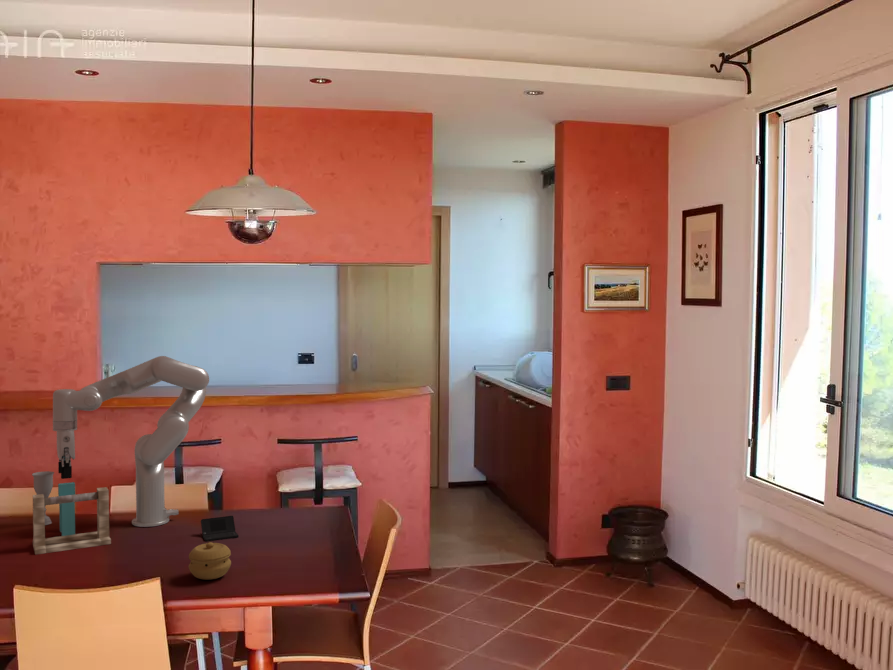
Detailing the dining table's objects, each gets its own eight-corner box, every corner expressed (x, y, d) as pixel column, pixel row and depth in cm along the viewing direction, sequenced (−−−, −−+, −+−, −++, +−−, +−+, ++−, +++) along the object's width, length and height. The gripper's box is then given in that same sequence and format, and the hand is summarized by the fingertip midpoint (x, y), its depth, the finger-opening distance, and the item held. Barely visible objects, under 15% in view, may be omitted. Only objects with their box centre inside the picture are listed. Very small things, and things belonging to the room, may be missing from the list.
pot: (237, 578, 227) (237, 544, 227) (196, 587, 220) (196, 551, 220) (223, 567, 237) (222, 534, 236) (183, 575, 230) (182, 541, 230)
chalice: (59, 521, 287) (58, 471, 286) (48, 526, 280) (47, 475, 279) (40, 520, 287) (39, 471, 287) (28, 525, 281) (27, 475, 280)
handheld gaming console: (208, 538, 261) (205, 510, 266) (200, 547, 265) (198, 520, 270) (241, 537, 267) (238, 510, 273) (234, 546, 272) (230, 519, 277)
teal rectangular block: (74, 528, 277) (73, 480, 277) (76, 535, 270) (76, 485, 269) (58, 530, 275) (57, 481, 274) (60, 537, 267) (59, 487, 266)
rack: (105, 534, 270) (105, 485, 269) (110, 543, 260) (110, 492, 259) (32, 544, 259) (31, 492, 258) (35, 554, 249) (34, 500, 248)
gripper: (80, 428, 265) (79, 479, 266) (74, 421, 280) (74, 470, 281) (55, 429, 261) (54, 481, 262) (50, 423, 276) (50, 471, 277)
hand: (64, 475), depth 271 cm, fingers open, 9 cm apart
